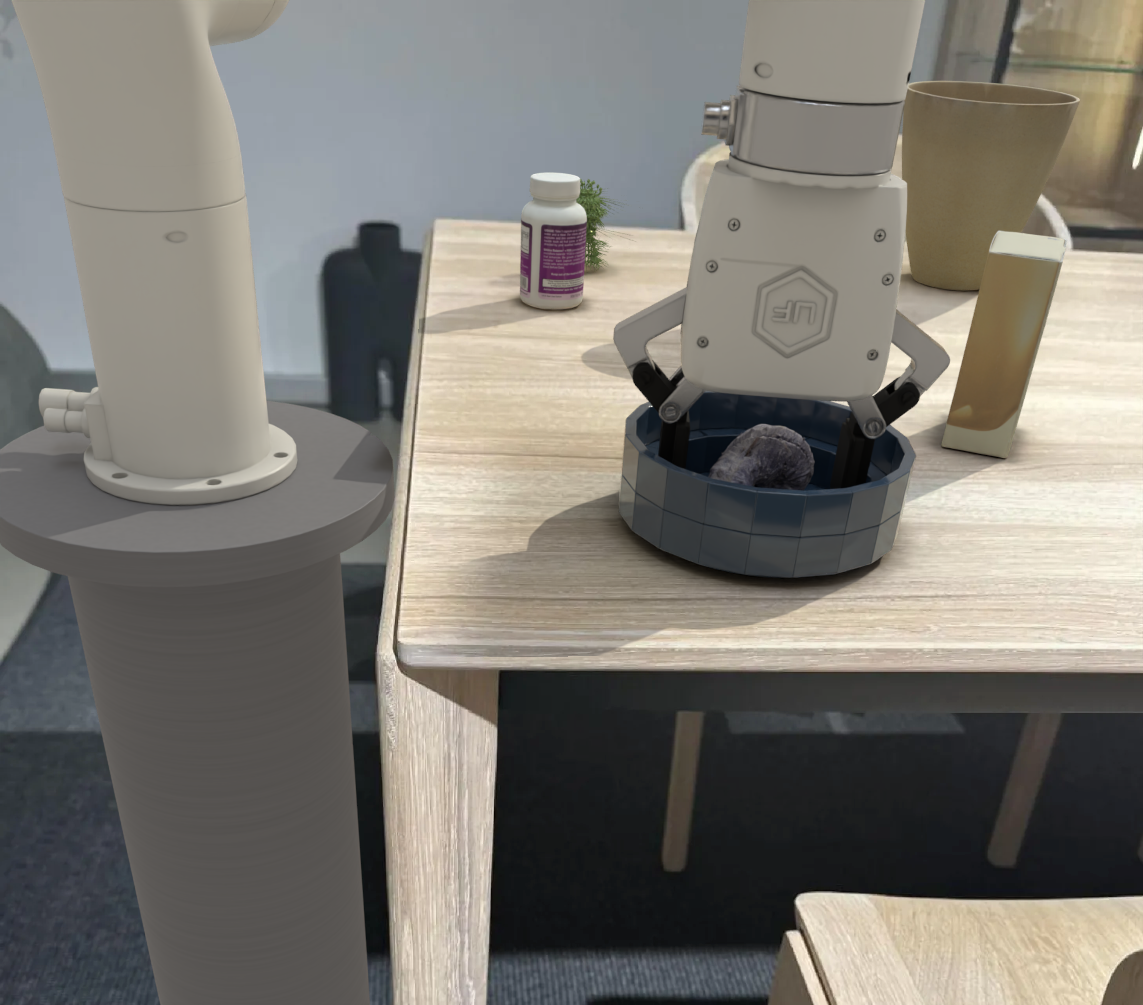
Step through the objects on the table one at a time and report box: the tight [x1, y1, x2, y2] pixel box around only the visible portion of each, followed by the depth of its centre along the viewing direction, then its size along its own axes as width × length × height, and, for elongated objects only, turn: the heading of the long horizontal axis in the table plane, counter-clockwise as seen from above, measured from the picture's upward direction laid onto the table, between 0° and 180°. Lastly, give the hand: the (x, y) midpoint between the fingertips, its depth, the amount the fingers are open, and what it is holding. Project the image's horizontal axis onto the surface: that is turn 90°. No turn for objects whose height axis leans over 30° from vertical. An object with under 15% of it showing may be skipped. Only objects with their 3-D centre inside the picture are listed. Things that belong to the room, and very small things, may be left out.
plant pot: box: [901, 80, 1081, 291], centre depth 109 cm, size 15×15×16 cm
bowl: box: [618, 390, 917, 579], centre depth 64 cm, size 15×15×5 cm
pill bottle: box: [519, 172, 587, 310], centre depth 97 cm, size 5×5×10 cm
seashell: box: [708, 424, 814, 491], centre depth 64 cm, size 5×5×10 cm
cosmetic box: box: [941, 231, 1068, 459], centre depth 75 cm, size 6×4×12 cm
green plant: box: [576, 178, 642, 272], centre depth 107 cm, size 12×12×8 cm
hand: (756, 492), depth 65 cm, fingers open, 8 cm apart
